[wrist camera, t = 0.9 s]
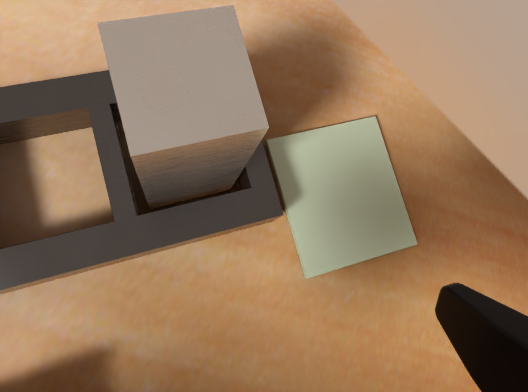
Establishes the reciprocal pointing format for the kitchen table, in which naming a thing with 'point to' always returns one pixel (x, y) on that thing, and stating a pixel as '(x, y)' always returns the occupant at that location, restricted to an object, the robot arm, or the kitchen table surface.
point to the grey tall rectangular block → (185, 100)
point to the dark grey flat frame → (115, 187)
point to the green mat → (340, 195)
